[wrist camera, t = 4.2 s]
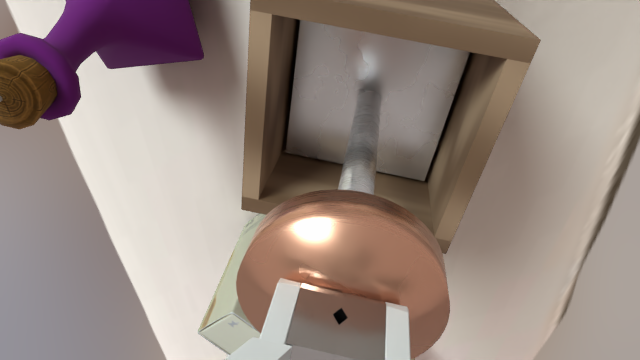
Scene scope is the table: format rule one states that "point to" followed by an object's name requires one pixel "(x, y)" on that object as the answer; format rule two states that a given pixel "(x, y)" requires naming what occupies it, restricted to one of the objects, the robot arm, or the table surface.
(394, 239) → the table lamp
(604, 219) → the table surface
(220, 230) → the table surface
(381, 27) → the wooden box
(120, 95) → the table surface
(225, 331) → the skincare box
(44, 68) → the perfume bottle
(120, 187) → the table surface
